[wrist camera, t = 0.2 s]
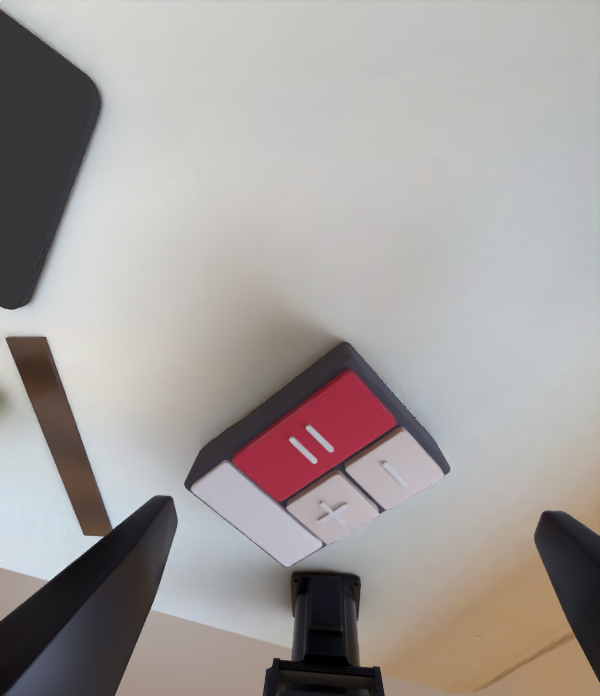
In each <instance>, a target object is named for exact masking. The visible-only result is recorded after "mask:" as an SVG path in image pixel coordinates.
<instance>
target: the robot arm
mask: <svg viewBox="0 0 600 696" xmlns="http://www.w3.org/2000/svg"><path fill="white" fill-rule="evenodd" d="M177 523H178V519H177V514H176V510H175V505H174V501H173V498H172V497H171V496H163V495H157V496H154V497H153V498H151V499H150V500H149V501H147V502H146V503H145V504H144V505H143V506H141V507H140V508H139V509H138V510H136V511H135V512H134V513H133V514H132V515H130V516H129V517H128V518H127V519H125V520H124V521H123V522H122V523H120V524H119V525H118V526H117V527H116V528H114V529H113V530H112V531H111V532H109V533H108V534H107V535H106V536H104V537H103V538H102V539H101V540H100V541H98V542H97V543H96V544H95V545H93V546H92V547H91V548H90V549H89V550H87V551H86V552H85V553H84V554H82V555H81V556H80V557H79V558H77V559H76V560H75V561H74V562H73V563H71V564H70V565H69V566H68V567H66V568H65V569H64V570H63V571H61V572H60V573H59V574H58V575H57V576H55V577H54V578H53V579H52V580H50V581H49V582H48V583H47V584H46V585H44V586H43V587H42V588H41V589H39V590H38V591H37V592H36V593H34V594H33V595H32V596H31V597H30V598H28V599H27V600H26V601H25V602H24V603H22V604H21V605H20V606H19V607H17V608H16V609H15V610H14V611H12V612H11V613H10V614H9V615H7V616H6V617H5V618H4V619H3V620H1V621H0V696H115V694H116V691H117V689H118V686H119V684H120V682H121V679H122V677H123V674H124V672H125V669H126V667H127V665H128V662H129V659H130V657H131V655H132V652H133V650H134V648H135V645H136V643H137V640H138V638H139V635H140V633H141V631H142V628H143V626H144V623H145V621H146V618H147V616H148V614H149V611H150V609H151V606H152V604H153V601H154V598H155V596H156V593H157V590H158V587H159V584H160V581H161V578H162V574H163V571H164V568H165V565H166V561H167V558H168V555H169V552H170V548H171V545H172V542H173V539H174V535H175V532H176V529H177ZM534 540H535V544H536V547H537V550H538V552H539V554H540V557H541V559H542V561H543V564H544V566H545V569H546V571H547V573H548V576H549V578H550V581H551V583H552V585H553V588H554V590H555V592H556V595H557V597H558V600H559V602H560V604H561V607H562V609H563V611H564V613H565V616H566V618H567V620H568V622H569V624H570V626H571V628H572V630H573V632H574V634H575V636H576V638H577V640H578V642H579V644H580V646H581V648H582V649H583V651H584V653H585V655H586V657H587V659H588V661H589V663H590V665H591V667H592V669H593V671H594V672H595V674H596V676H597V678H598V680H599V682H600V536H599V535H598V534H596V533H595V532H593V531H592V530H591V529H589V528H588V527H586V526H585V525H583V524H582V523H580V522H579V521H578V520H576V519H575V518H573V517H572V516H570V515H569V514H567V513H565V512H563V511H550V510H547V511H544V512H543V513H542V514H541V517H540V520H539V522H538V525H537V528H536V531H535V534H534ZM360 588H361V582H360V578H359V577H357V576H345V575H328V574H310V573H293V574H292V576H291V589H292V608H293V617H294V618H295V620H294V634H293V647H292V661H287V660H280V658H274V659H273V665H272V667H271V668H269V669H267V670H266V676H265V684H264V691H263V696H385V695H384V689H383V683H382V677H381V671H380V667H377V666H373V668H371V667H360V659H359V646H358V633H357V621H358V613H359V600H360Z"/></svg>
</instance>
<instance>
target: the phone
mask: <svg viewBox="0 0 600 696" xmlns="http://www.w3.org/2000/svg"><path fill="white" fill-rule="evenodd" d="M99 109H100V96H99V93H98V90H97V88H96V86H95V84H94V83H93V81H92V80H91V79H90V78H89V77H88V76H87V75H86V74H85V73H84V72H82V71H81V70H80V69H78V68H77V67H76V66H75V65H73V64H72V63H71V62H69V61H68V60H67V59H65V58H64V57H63V56H61V55H60V54H59V53H57V52H56V51H55V50H53V49H52V48H51V47H49V46H48V45H47V44H45V43H44V42H43V41H41V40H40V39H39V38H37V37H36V36H35V35H34V34H32V33H31V32H30V31H28V30H27V29H26V28H24V27H23V26H22V25H20V24H19V23H18V22H16V21H15V20H14V19H12V18H11V17H10V16H8V15H7V14H5V13H4V12H3V11H1V10H0V307H2V308H5V309H10V310H13V309H17V308H20V307H23V306H25V305H26V304H27V303H28V302H29V300H30V298H31V296H32V293H33V290H34V288H35V285H36V282H37V280H38V277H39V274H40V271H41V269H42V266H43V263H44V261H45V258H46V255H47V252H48V250H49V247H50V244H51V242H52V239H53V236H54V233H55V231H56V228H57V225H58V223H59V220H60V217H61V214H62V212H63V209H64V206H65V204H66V201H67V198H68V195H69V193H70V190H71V187H72V185H73V182H74V179H75V176H76V174H77V171H78V168H79V166H80V163H81V160H82V157H83V155H84V152H85V149H86V147H87V144H88V141H89V138H90V136H91V133H92V130H93V128H94V125H95V122H96V119H97V116H98V113H99Z"/></svg>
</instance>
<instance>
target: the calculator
mask: <svg viewBox="0 0 600 696" xmlns="http://www.w3.org/2000/svg"><path fill="white" fill-rule="evenodd" d="M449 471H450V467H449V465H448V463H447V461H446V459H445V458H444V456H443V454H442V452H441V450H440V449H439V447H438V445H437V444H436V442H435V440H434V439H433V438H432V437H431V436H430V435H429V433H428V432H427V431H426V430H425V429H424V428H423V427H422V426H421V424H420V423H419V422H418V421H417V420H416V419H415V418H414V416H413V415H412V414H411V413H410V412H409V411H408V410H407V408H406V407H405V406H404V405H403V404H402V403H401V402H400V400H399V399H398V398H397V397H396V396H395V395H394V394H393V392H392V391H391V390H390V389H389V388H388V387H387V386H386V384H385V383H384V382H383V381H382V380H381V379H380V378H379V377H378V375H377V374H376V373H375V372H374V371H373V370H372V369H371V367H370V366H369V365H368V364H367V363H366V362H365V361H364V359H363V358H362V357H361V356H360V355H359V354H358V353H357V351H356V350H355V349H354V348H353V347H352V346H351V345H350V344H349V343H347V342H343V343H341V344H339V345H338V346H337V347H335V348H334V349H333V350H332V351H330V352H329V353H328V354H326V355H325V356H324V357H323V358H321V359H320V360H319V361H318V362H316V363H315V364H314V365H312V366H311V367H310V368H309V369H307V370H306V371H305V372H303V373H302V374H301V375H300V376H298V377H297V378H296V379H295V380H293V381H292V382H291V383H289V384H288V385H287V386H286V387H284V388H283V389H282V390H281V391H279V392H278V393H277V394H275V395H274V396H273V397H272V398H270V399H269V400H268V401H267V402H265V403H264V404H263V405H261V406H260V407H259V408H258V409H256V410H255V411H254V412H253V413H251V414H250V415H249V416H247V417H246V418H245V419H244V420H242V421H241V422H240V423H238V424H237V425H236V426H233V427H230V428H228V429H227V430H226V431H224V432H223V433H222V434H220V435H219V436H218V437H217V438H215V439H214V440H213V441H212V442H210V443H209V444H208V445H206V446H205V447H204V448H203V449H201V450H200V452H199V454H198V456H197V458H196V460H195V462H194V464H193V466H192V468H191V470H190V472H189V474H188V476H187V478H186V480H185V483H184V485H185V487H186V488H187V489H188V490H189V491H190V492H191V493H193V494H194V495H195V496H196V497H198V498H199V499H200V500H201V501H203V502H204V503H205V504H206V505H208V506H209V507H210V508H211V509H213V510H214V511H215V512H216V513H218V514H219V515H220V516H221V517H223V518H224V519H225V520H226V521H228V522H229V523H230V524H231V525H233V526H234V527H235V528H236V529H237V530H239V531H240V532H241V533H242V534H244V535H245V536H246V537H247V538H249V539H250V540H251V541H252V542H254V543H255V544H256V545H257V546H259V547H260V548H261V549H262V550H264V551H265V552H266V553H267V554H269V555H270V556H271V557H272V558H274V559H275V560H276V561H277V562H279V563H280V564H281V565H283V566H284V567H290V566H292V565H294V564H296V563H297V562H299V561H301V560H303V559H304V558H306V557H308V556H309V555H311V554H313V553H314V552H316V551H318V550H319V549H321V548H323V547H325V546H326V545H328V544H332V543H334V542H336V541H337V540H339V539H341V538H342V537H344V536H346V535H347V534H349V533H351V532H353V531H354V530H356V529H358V528H359V527H361V526H363V525H364V524H366V523H368V522H370V521H371V520H373V519H375V518H376V517H377V516H378V515H379V514H380V513H382V512H384V511H386V510H389V509H392V508H393V507H395V506H397V505H398V504H400V503H402V502H404V501H405V500H407V499H409V498H410V497H412V496H414V495H415V494H417V493H419V492H421V491H422V490H424V489H426V488H427V487H429V486H431V485H432V484H434V483H436V482H438V481H439V480H441V479H442V478H443V477H444V476H445V475H446V474H448V473H449Z"/></svg>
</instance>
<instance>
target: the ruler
mask: <svg viewBox="0 0 600 696" xmlns="http://www.w3.org/2000/svg"><path fill="white" fill-rule="evenodd" d="M6 341H7V343H8V346H9V348H10V351H11V353H12V356H13V358H14V361H15V364H16V366H17V369H18V371H19V374H20V376H21V379H22V381H23V384H24V386H25V389H26V391H27V394H28V396H29V399H30V401H31V404H32V406H33V409H34V411H35V414H36V416H37V419H38V421H39V424H40V426H41V429H42V431H43V434H44V436H45V439H46V441H47V444H48V446H49V449H50V451H51V454H52V456H53V459H54V461H55V464H56V466H57V469H58V471H59V474H60V476H61V479H62V481H63V484H64V486H65V489H66V491H67V494H68V496H69V499H70V501H71V504H72V506H73V509H74V511H75V514H76V516H77V519H78V521H79V524H80V526H81V529H82V531H83V534H84V535H86V536H106V535H107V534H108V533H109V532H111V531H112V528H111V525H110V522H109V519H108V516H107V513H106V510H105V507H104V505H103V502H102V499H101V496H100V493H99V490H98V487H97V484H96V482H95V479H94V476H93V473H92V470H91V467H90V464H89V461H88V459H87V456H86V453H85V450H84V447H83V444H82V441H81V438H80V436H79V433H78V430H77V427H76V424H75V421H74V418H73V415H72V413H71V410H70V407H69V404H68V401H67V398H66V395H65V392H64V390H63V387H62V384H61V381H60V378H59V375H58V372H57V369H56V367H55V364H54V361H53V358H52V355H51V352H50V349H49V346H48V344H47V341H46V338H45V337H7V338H6Z"/></svg>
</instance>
